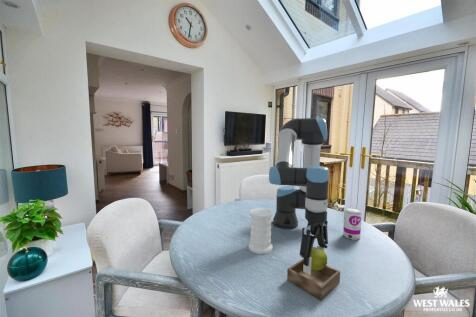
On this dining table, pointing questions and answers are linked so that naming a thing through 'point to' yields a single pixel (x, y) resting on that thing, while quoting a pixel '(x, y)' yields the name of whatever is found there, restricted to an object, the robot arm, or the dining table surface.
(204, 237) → the dining table surface
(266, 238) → the decorative container
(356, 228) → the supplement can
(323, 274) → the walnut box
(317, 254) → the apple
